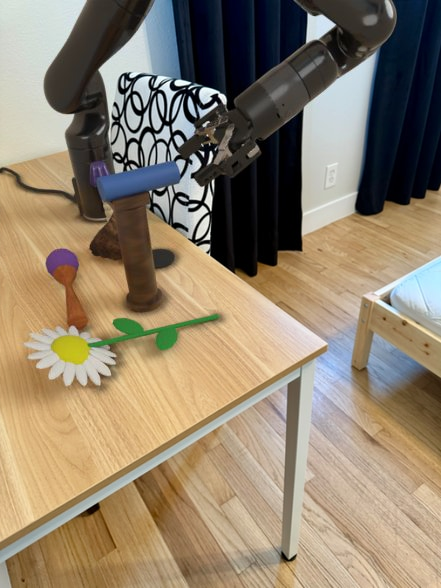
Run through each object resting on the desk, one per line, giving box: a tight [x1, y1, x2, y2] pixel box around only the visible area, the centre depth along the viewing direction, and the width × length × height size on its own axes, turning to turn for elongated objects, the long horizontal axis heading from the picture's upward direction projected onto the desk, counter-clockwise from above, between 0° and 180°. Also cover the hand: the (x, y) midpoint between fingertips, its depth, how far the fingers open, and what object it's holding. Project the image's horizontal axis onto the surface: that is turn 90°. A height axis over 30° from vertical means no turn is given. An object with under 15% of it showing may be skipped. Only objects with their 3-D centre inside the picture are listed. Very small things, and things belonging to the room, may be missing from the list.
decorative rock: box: [88, 213, 123, 262], centre depth 86 cm, size 12×6×11 cm, turn 77°
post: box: [107, 191, 164, 313], centre depth 71 cm, size 6×6×21 cm
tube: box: [97, 160, 181, 202], centre depth 65 cm, size 12×4×4 cm, turn 121°
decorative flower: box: [23, 313, 220, 387], centre depth 67 cm, size 13×5×30 cm
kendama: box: [45, 247, 89, 331], centre depth 77 cm, size 6×6×20 cm
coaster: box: [152, 248, 176, 270], centre depth 88 cm, size 7×7×1 cm
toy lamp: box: [90, 161, 113, 223], centre depth 91 cm, size 5×5×17 cm
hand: (188, 168), depth 69 cm, fingers open, 8 cm apart
